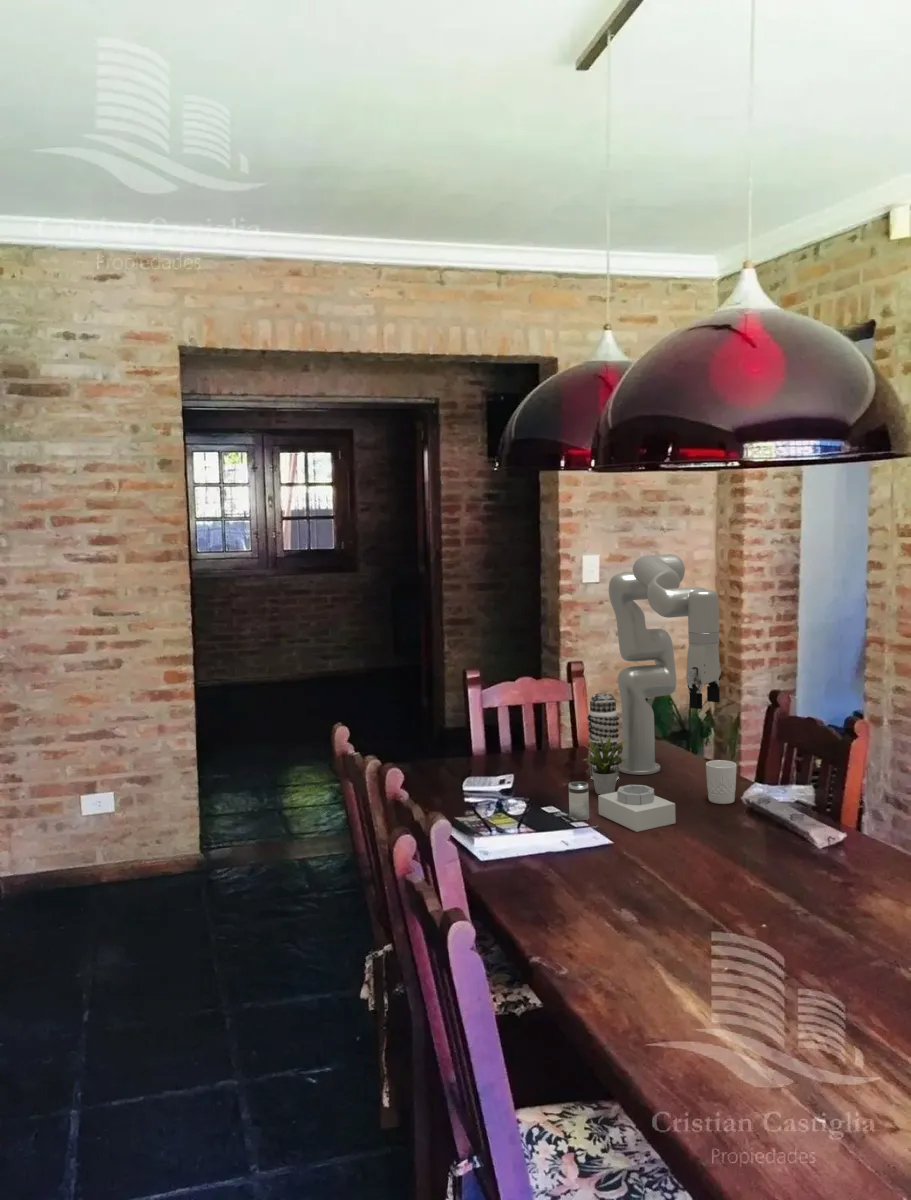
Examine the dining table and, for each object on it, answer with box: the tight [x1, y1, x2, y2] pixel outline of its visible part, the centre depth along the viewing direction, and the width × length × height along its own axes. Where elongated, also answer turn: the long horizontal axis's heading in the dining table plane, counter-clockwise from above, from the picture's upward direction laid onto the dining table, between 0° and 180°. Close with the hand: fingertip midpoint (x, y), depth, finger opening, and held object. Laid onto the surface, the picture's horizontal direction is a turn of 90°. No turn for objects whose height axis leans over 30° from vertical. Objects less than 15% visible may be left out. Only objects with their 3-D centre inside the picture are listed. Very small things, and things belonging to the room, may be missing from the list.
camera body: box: [597, 784, 677, 832], centre depth 235 cm, size 16×12×8 cm
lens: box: [568, 780, 590, 821], centre depth 237 cm, size 5×5×9 cm
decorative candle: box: [586, 692, 620, 782], centre depth 271 cm, size 9×9×25 cm
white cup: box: [705, 759, 737, 805], centre depth 247 cm, size 8×8×10 cm
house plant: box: [583, 736, 629, 795], centre depth 256 cm, size 14×14×16 cm
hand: (704, 705), depth 236 cm, fingers open, 9 cm apart
